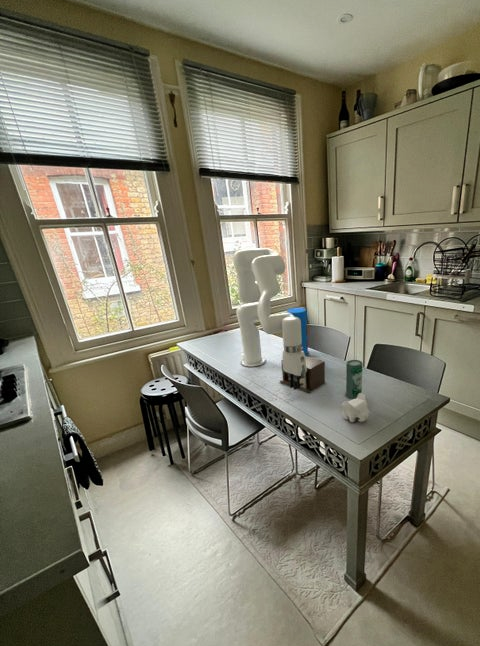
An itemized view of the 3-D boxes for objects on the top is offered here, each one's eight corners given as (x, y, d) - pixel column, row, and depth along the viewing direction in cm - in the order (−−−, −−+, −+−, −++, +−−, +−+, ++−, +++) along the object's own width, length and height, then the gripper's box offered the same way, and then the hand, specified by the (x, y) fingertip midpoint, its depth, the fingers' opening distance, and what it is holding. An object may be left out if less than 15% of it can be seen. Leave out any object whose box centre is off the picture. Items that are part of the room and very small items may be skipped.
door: (285, 388, 139) (283, 370, 136) (293, 383, 143) (292, 365, 140) (297, 393, 135) (296, 374, 131) (306, 388, 139) (305, 369, 135)
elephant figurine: (360, 430, 110) (361, 409, 107) (335, 417, 119) (335, 397, 115) (376, 419, 116) (378, 398, 113) (351, 408, 124) (351, 388, 121)
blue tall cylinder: (306, 357, 175) (304, 312, 165) (287, 356, 177) (284, 312, 167) (309, 350, 185) (308, 307, 174) (291, 349, 187) (289, 307, 177)
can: (357, 400, 130) (358, 366, 124) (344, 396, 133) (344, 364, 127) (363, 393, 135) (364, 361, 128) (349, 390, 138) (350, 358, 131)
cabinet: (280, 383, 147) (278, 361, 143) (296, 374, 155) (295, 353, 151) (309, 393, 137) (308, 370, 132) (325, 383, 145) (324, 361, 141)
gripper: (313, 348, 126) (314, 389, 134) (284, 341, 136) (287, 379, 143) (301, 354, 121) (303, 396, 128) (272, 346, 130) (276, 386, 138)
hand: (295, 387), depth 136 cm, fingers closed
